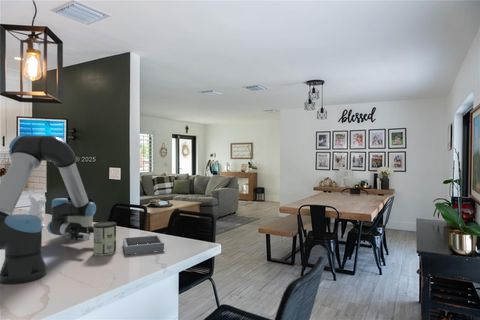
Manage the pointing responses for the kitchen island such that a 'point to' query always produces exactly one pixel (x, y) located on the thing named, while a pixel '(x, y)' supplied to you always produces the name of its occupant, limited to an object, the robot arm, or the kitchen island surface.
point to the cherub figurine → (37, 207)
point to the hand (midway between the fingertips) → (100, 234)
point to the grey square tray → (145, 247)
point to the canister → (81, 220)
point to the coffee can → (104, 238)
